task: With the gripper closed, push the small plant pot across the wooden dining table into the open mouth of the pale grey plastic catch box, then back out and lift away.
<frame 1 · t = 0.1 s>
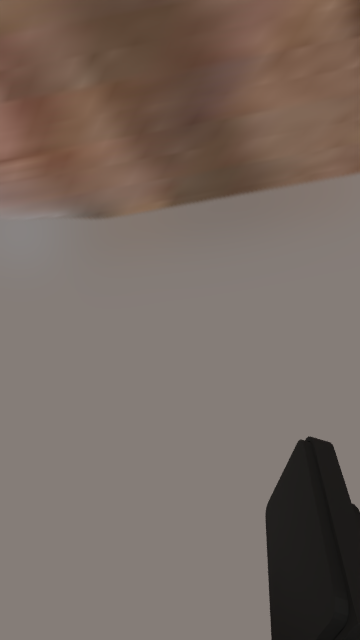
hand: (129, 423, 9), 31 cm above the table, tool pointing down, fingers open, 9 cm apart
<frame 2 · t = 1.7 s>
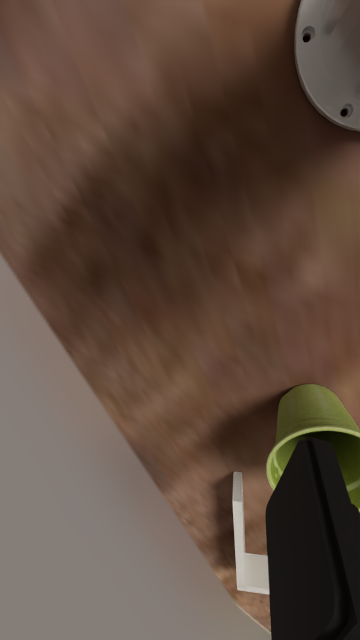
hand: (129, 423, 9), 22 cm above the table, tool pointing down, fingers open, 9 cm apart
plant pot: (307, 406, 34), on the table
catch box: (301, 522, 40), on the table
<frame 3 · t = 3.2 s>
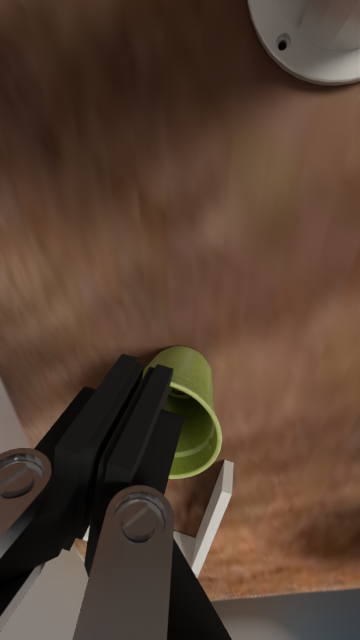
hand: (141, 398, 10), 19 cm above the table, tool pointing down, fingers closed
plant pot: (181, 370, 33), on the table
catch box: (152, 485, 40), on the table
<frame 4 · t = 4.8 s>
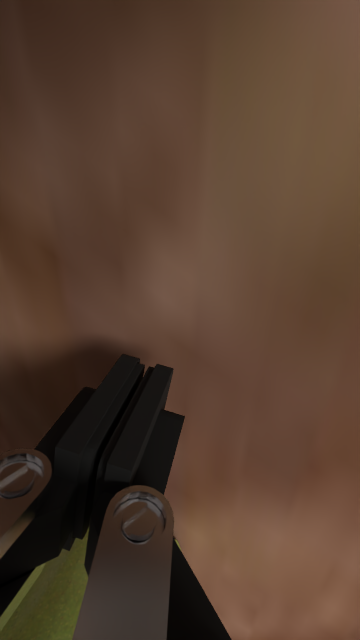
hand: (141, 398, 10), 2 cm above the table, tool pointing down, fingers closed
plant pot: (125, 534, 17), on the table
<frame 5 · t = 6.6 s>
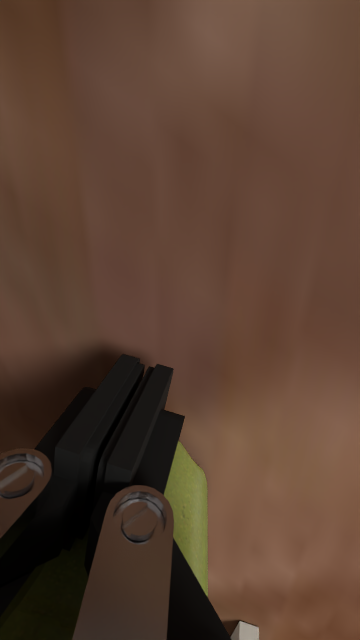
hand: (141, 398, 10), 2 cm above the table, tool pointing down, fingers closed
plant pot: (137, 469, 14), on the table, touching gripper
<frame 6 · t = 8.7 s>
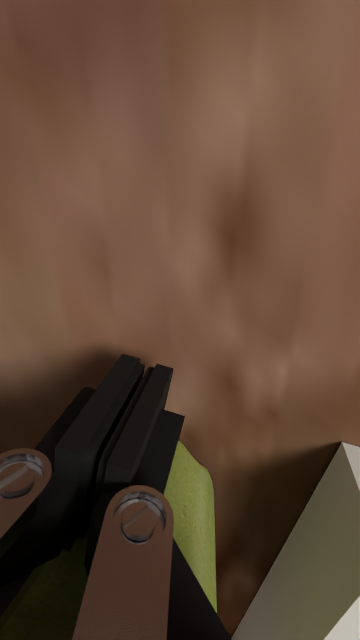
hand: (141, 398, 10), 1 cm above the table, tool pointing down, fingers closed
plant pot: (143, 474, 14), on the table, touching gripper
catch box: (124, 514, 15), on the table
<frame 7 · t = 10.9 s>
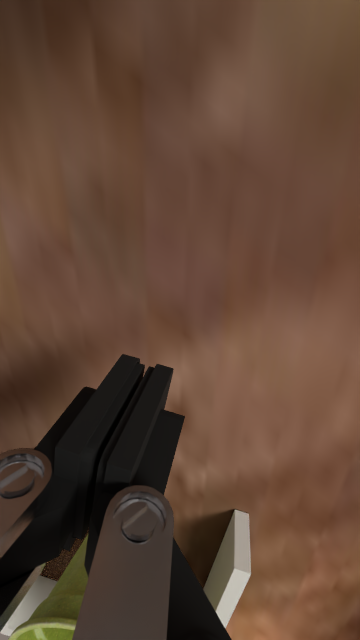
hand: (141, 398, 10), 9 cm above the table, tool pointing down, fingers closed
plant pot: (133, 530, 26), on the table
catch box: (123, 547, 26), on the table
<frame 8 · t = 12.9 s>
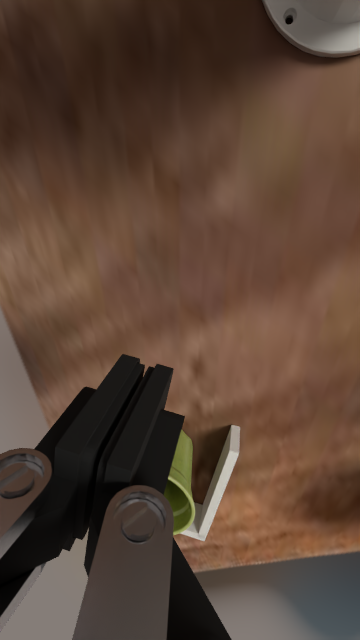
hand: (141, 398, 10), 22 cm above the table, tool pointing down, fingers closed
plant pot: (168, 441, 41), on the table
catch box: (162, 452, 41), on the table
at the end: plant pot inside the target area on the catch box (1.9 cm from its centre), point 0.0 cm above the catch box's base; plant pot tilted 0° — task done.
